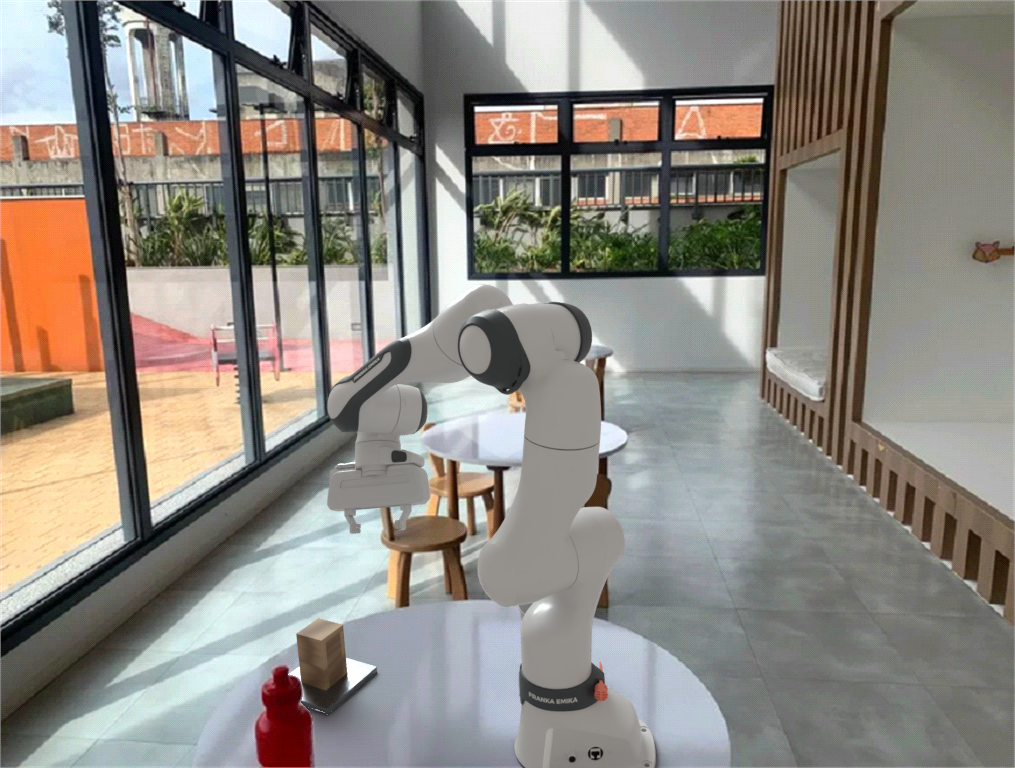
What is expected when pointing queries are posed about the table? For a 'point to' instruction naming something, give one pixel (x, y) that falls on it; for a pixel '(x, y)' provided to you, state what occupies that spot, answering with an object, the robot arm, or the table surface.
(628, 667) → the table surface
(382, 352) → the robot arm
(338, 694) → the metal square peg base
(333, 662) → the brown wooden block
